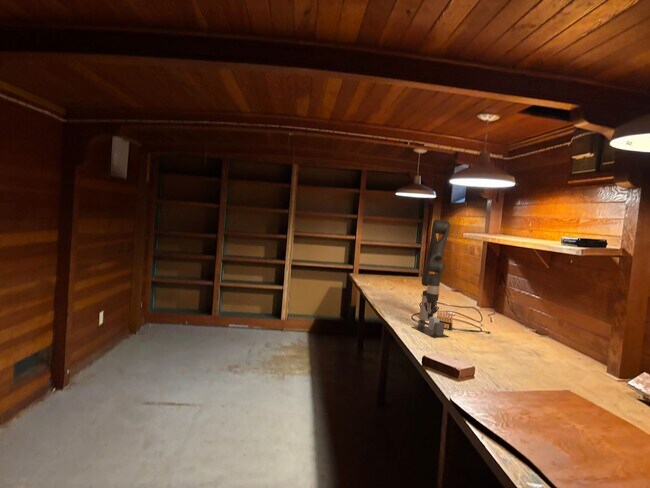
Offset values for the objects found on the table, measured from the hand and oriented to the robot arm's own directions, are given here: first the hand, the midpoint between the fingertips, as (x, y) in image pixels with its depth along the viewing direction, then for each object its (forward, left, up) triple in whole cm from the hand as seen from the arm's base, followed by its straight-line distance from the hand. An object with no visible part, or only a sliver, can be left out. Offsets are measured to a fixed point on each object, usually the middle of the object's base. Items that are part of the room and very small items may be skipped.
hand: (429, 319), depth 255 cm
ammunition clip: (-5, +16, -8) cm, 19 cm away
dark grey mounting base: (+1, 0, -8) cm, 8 cm away
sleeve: (+4, 0, -6) cm, 7 cm away
